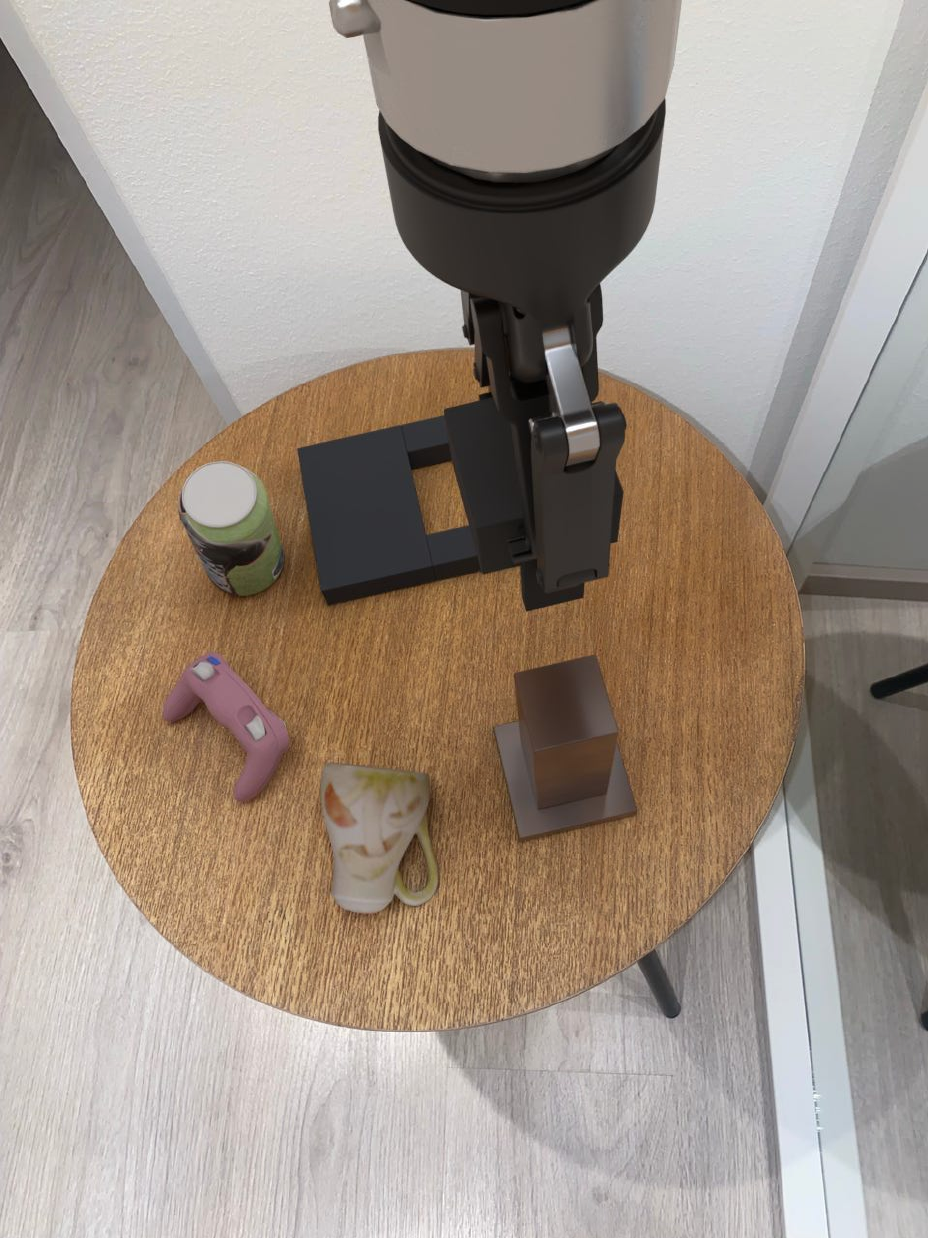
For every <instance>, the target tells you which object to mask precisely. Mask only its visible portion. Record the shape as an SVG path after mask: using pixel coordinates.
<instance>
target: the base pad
mask: <svg viewBox="0 0 928 1238" xmlns="http://www.w3.org/2000/svg"><path fill="white" fill-rule="evenodd" d="M296 450H297V456H298V457H297V458H298V462H299V466H300V467H299V469H300V475H301V480H302V481H301V482H302V486H303V492H304V493H303V494H304V498H305V505H306V511H307V517H308V523H309V528H310V534H311V541H312V548H313V553H314V559H315V564H316V571H317V577H318V583H319V589H320V593H321V595H322V597H323V599H324V601H325V603H326V604H327V606H332V605H336V604H342V603H345V602H349V601H354V600H358V599H362V598H368V597H372V596H375V595H381V594H384V593H389V592H393V591H398V590H403V589H407V588H411V587H415V586H416V587H417V586H420V585H425V584H428V583H433V582H436V581H437V582H439V581H442V580H446V579H451V578H456V577H459V576H464V575H469V574H473V573H477V572H481V568H480V564H479V561H478V557H477V553H476V549H475V546H474V542H473V538H472V535H471V531H470V527H469V524H467V525H463V526H459V527H454V528H449V529H445V530H441V531H437V532H432V533H428V534H427V533H426V529H425V524H424V519H423V515H422V511H421V507H420V502H419V497H418V492H417V488H416V484H415V480H414V475H413V471H412V470H416V469H420V468H424V467H428V466H433V465H437V464H442V463H447V462H452V459H451V453H450V447H449V441H448V435H447V429H446V423H445V417H444V414H443V415H439V416H434V417H430V418H425V419H421V420H417V421H412V422H407V423H403V424H399V425H394V426H390V427H385V428H380V429H376V430H372V431H368V432H364V433H359V434H355V435H350V436H345V437H340V438H337V439H332V440H327V441H322V442H319V443H313V444H309V445H306V446H301V447H298V448H296Z"/></svg>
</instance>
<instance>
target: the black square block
mask: <svg viewBox="0 0 928 1238" xmlns="http://www.w3.org/2000/svg"><path fill="white" fill-rule="evenodd" d="M590 404H591V403H590ZM443 415H444V417H445V423H446V429H447V435H448V441H449V447H450V453H451V459H452V460H451V464H452V468H453V471H454V475H455V479H456V483H457V486H458V490H459V493H460V498H461V501H462V504H463V508H464V512H465V515H466V520H467V525H469V527H470V531H471V535H472V538H473V542H474V546H475V549H476V553H477V557H478V561H479V564H480V568H481V571H480V572H481V574H482V575H487V574H492V573H495V572H500V571H504V570H508V569H512V568H516V567H520V563H517V564H513V561H512V558H511V555H510V551H509V547H508V542H507V539H508V538H512V537H516V536H518V527H521V526H524V519H523V512H522V504H521V497H520V489H519V482H518V475H517V467H516V460H515V452H514V445H513V438H512V430H511V423H509V422H506V421H504V420H503V419H502V418H501V417H500V414H499V411H498V409H497V406H496V403H495V401H494V398H493V397H492V398H488V399H484V400H479V399H478V400H475V401H472V402H467V403H463V404H458V405H454V406H451V407H446V408H443ZM621 483H622V482H621V481H620V477H619V475H618V473H617V471H616V472H615V487H614V502H613V517H612V532H611V544H614V543H615V544H616V543H618V540H619V531H620V525H621V517H622V508H623V499H624V489H623V487H622V484H621Z"/></svg>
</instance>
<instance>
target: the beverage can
mask: <svg viewBox="0 0 928 1238" xmlns="http://www.w3.org/2000/svg"><path fill="white" fill-rule="evenodd" d="M177 513H178V517H179V520H180V522H181V524H182V526H183V528H184V531H185V532H186V534H187V537H188V538H189V540H190V543H191V545H192V547H193V549H194V551H195V553H196V555H197V556H198V559H199V561H200V563H201V565H202V567H203V569H204V571H205V573H206V576H207V578H208V579H209V580H210V582H211V584H213V585H214V586H215V587H216V588H217V589H219V590H220V591H222V592H224V593H226V594H229V595H234V596H252V595H254V594H258V593H260V592H263V591H264V590H266V589H268V588H269V587H270V586H272V585H273V584H274V583H275V582H276V581H277V579H278V578H279V577H280V574H281V573H282V570H283V567H284V563H285V551H284V548H283V545H282V541H281V537H280V533H279V530H278V527H277V523H276V520H275V517H274V513H273V509H272V506H271V503H270V498H269V495H268V492H267V489H266V486H265V485H264V483H263V481H261V479H260V478H259V476H257V475H256V474H255V473H254V472H252V471H251V470H249V469H248V468H246V467H244V466H241V465H239V464H237V463H234V462H230V461H224V460H221V461H212V462H207V463H206V464H203V465H201V466H199V467H197V468H196V469H195V470H194V471H193V472H191V474H189V476H188V477H187V478H186V480H185V482H184V484H183V486H182V488H181V489H180V492H179V495H178V500H177Z"/></svg>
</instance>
